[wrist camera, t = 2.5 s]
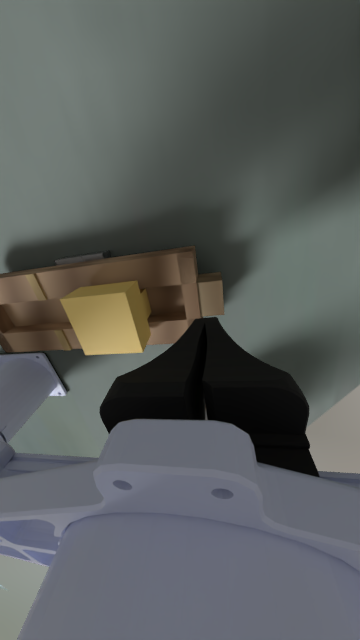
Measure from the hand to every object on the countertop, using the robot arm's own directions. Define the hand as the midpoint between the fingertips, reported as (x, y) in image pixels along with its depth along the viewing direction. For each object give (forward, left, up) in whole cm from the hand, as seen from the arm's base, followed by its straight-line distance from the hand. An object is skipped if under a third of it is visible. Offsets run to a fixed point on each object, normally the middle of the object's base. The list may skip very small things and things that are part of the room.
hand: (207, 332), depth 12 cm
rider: (-8, 0, -6) cm, 10 cm away
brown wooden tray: (-11, 0, -8) cm, 13 cm away
